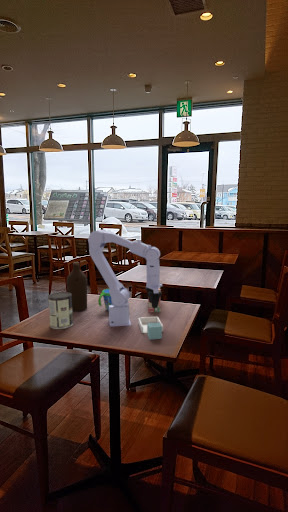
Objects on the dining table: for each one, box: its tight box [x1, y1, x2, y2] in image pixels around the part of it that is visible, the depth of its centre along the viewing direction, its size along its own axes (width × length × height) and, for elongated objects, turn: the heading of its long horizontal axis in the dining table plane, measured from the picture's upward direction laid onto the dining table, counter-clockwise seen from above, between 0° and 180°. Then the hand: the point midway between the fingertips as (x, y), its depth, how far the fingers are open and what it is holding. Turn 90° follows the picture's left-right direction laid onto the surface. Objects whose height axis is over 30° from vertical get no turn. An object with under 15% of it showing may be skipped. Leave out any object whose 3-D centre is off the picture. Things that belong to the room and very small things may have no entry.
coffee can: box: [47, 291, 74, 330], centre depth 141 cm, size 10×10×14 cm
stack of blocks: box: [147, 287, 162, 314], centre depth 167 cm, size 21×6×12 cm, turn 179°
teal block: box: [146, 322, 163, 341], centre depth 126 cm, size 5×5×5 cm
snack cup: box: [98, 288, 113, 312], centre depth 163 cm, size 16×10×10 cm
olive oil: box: [66, 261, 88, 313], centre depth 163 cm, size 11×11×25 cm
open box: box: [137, 316, 164, 334], centre depth 136 cm, size 9×12×3 cm
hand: (153, 305), depth 138 cm, fingers open, 7 cm apart
